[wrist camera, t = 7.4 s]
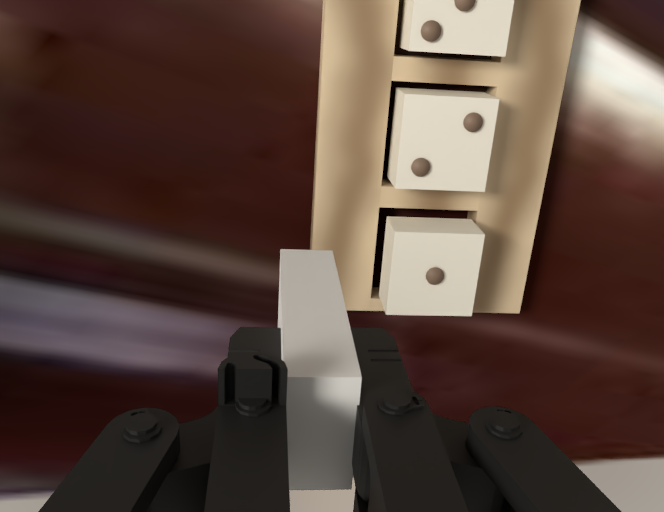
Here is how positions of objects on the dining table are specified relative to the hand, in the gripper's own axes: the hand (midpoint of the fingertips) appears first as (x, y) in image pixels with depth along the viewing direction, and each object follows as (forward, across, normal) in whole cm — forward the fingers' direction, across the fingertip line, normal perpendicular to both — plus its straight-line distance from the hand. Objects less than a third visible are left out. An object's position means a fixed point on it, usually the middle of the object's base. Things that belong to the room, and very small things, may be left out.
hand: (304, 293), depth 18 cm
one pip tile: (+24, +10, -9) cm, 27 cm away
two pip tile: (+25, +10, 0) cm, 27 cm away
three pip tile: (+26, +10, +8) cm, 29 cm away
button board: (+26, +10, 0) cm, 28 cm away
